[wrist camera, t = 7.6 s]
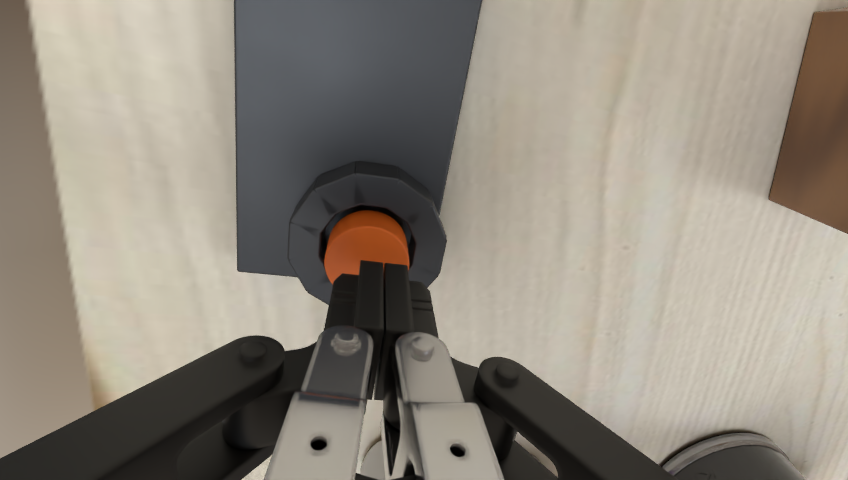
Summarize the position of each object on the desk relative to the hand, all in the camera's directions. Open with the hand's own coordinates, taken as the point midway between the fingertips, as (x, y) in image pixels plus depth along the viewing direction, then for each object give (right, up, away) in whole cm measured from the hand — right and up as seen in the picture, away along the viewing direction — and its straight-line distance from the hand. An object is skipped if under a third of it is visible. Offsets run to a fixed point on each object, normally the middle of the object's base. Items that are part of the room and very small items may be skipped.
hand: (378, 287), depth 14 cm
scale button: (-1, +1, +3) cm, 3 cm away
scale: (-1, +7, +3) cm, 7 cm away
